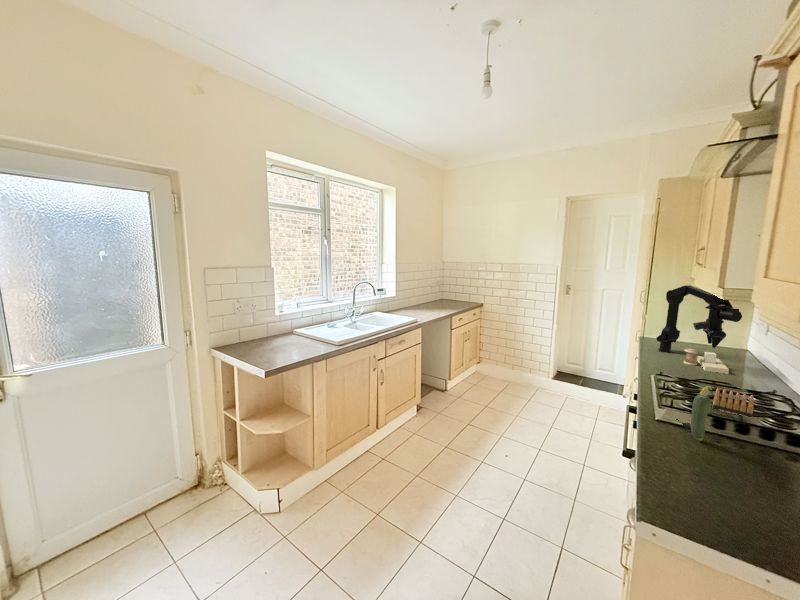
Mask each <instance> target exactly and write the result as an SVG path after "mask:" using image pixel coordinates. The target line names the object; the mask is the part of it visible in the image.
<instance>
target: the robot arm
mask: <svg viewBox="0 0 800 600" xmlns="http://www.w3.org/2000/svg"><path fill="white" fill-rule="evenodd" d="M711 293H712V292H709V291H706V290H703V289H700V288H698V287H695V286H693V285H687V284H686V285H681V286H679V287H677V288H675V289H674V288H673V289H669V290H668V291H666V295H665V296H666V298H665V299H666V301H667V304H668V309H667V315H666V322H665V326H664V328H663V329H662V330H661V333H660V334H659V335H658V336H657V337H655V338H656V341H657V342H659V347H658V348H657V350H658V352H662V353H663V352H664V353H672V354H673V351H672V345H673V344H672V343H677V340H678V339H679V338H680V334H681V330H678V328H677V324H678V316H679V315H678V314H679V310H680V309H679V308H680V305H681V303H682V302H683V301H684V298H685V297H686V296H688V295H691V296H694V297H697V298H699V299H701V300H703V301H704V302H705V303H707V304H708V305H707V306H705V309H706V310H707V309H708V317H707V318H706V319H705V321H698V322H694V323H692V325H693V327H694V330H695V331H700V330H702V331H703V332H704V333H705V334H706V339H707V344H709V345H711V348H713V349H715V348H716V347H717V346H718V345H719V344H720V343H721V342H722V340H724V339H725V338H726V336H727V333H726V332H725V331H724V330H723V328H722V327H723V324H724V321H728V322H734V323H738V322H740V321H741V320H742V318H743V314H742V312H741V311H740V308H734V307H733V306H732V304H731V302H730V300H729V299H728V300H723V299H720V298H718V297H717V296H715V295H713V294H714V293H713V294H711Z"/></svg>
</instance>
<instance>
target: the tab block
mask: <svg viewBox="0 0 800 600" xmlns="http://www.w3.org/2000/svg"><path fill="white" fill-rule="evenodd" d="M703 357H704V361H703V363H711V364H715V362H716V358H717V354H716V353H715V352H713V351H712V352H709V351H704V355H703Z"/></svg>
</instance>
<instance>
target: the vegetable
mask: <svg viewBox="0 0 800 600" xmlns="http://www.w3.org/2000/svg"><path fill="white" fill-rule="evenodd" d="M709 391H713V388H712V386H711V385H706V386H704V387H703V388H702V389H701V391H699V394H697V395H696V396H695V397H694V399H693V401H692V408H691V416H690V417H691V418H690V421H691V432H690V433H691V435H692V437H694V439H696V440H697V439H698V440H700V441H699V442H702V441H703V440H704V437H705V432H706V431H705V429H706V428H705V427H706V418H707V416H708V414H709V413H710V410H711V408H712V407H711V406H712V400H711V399H710V397H709V396H708V395H709Z"/></svg>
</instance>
